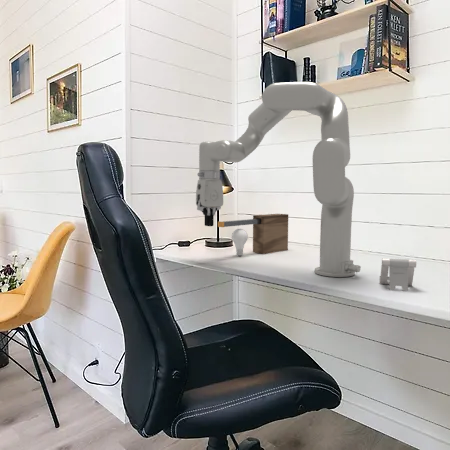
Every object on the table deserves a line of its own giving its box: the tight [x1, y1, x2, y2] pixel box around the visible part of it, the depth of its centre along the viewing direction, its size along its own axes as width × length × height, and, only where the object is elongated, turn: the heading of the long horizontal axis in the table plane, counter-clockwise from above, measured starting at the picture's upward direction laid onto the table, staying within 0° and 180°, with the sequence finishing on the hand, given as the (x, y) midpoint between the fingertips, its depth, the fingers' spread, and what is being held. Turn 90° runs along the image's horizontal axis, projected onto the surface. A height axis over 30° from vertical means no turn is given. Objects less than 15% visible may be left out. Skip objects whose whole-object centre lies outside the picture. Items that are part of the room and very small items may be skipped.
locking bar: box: [217, 218, 261, 228], centre depth 171 cm, size 3×25×2 cm, turn 134°
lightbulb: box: [231, 228, 249, 257], centre depth 170 cm, size 6×6×11 cm
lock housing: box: [252, 213, 289, 255], centre depth 183 cm, size 6×16×16 cm, turn 134°
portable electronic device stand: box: [379, 257, 417, 292], centre depth 120 cm, size 9×8×8 cm
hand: (209, 225), depth 159 cm, fingers closed
